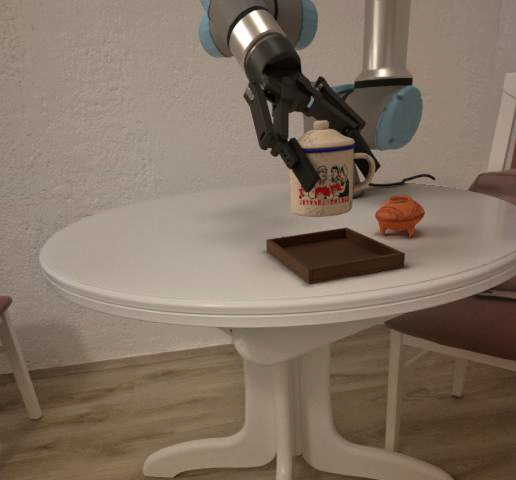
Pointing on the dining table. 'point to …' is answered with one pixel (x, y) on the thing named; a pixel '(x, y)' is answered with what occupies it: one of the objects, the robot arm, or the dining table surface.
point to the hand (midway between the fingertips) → (344, 179)
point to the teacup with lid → (328, 173)
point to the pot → (399, 214)
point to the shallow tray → (333, 254)
